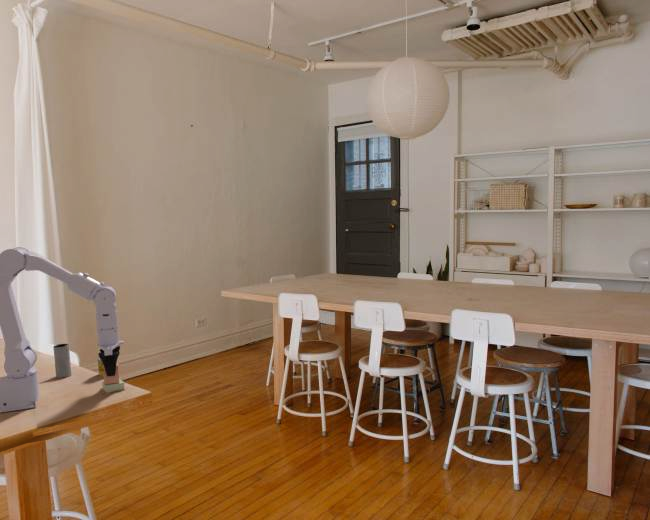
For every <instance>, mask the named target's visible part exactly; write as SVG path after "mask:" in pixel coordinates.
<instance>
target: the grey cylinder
mask: <svg viewBox="0 0 650 520" xmlns="http://www.w3.org/2000/svg"><path fill="white" fill-rule="evenodd" d="M52 348H53V357H54V367H55V378H58V379H62V378H63V377H64V378H69V377H71V376H72V368H71V367H72V366H71V357H70V354H71V353H70V345H69V343H60V344H55V345H54V346H53V347H52ZM64 378H63V379H64Z"/></svg>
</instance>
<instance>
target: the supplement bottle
mask: <svg viewBox="0 0 650 520" xmlns="http://www.w3.org/2000/svg"><path fill="white" fill-rule="evenodd" d="M99 353H101V352H100V348H98V354H99ZM97 365H98V375H99V376H100V377H104V369H103V367H104V365H103V362H102V360H101V359H100V358H99V355H98V356H97Z"/></svg>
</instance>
